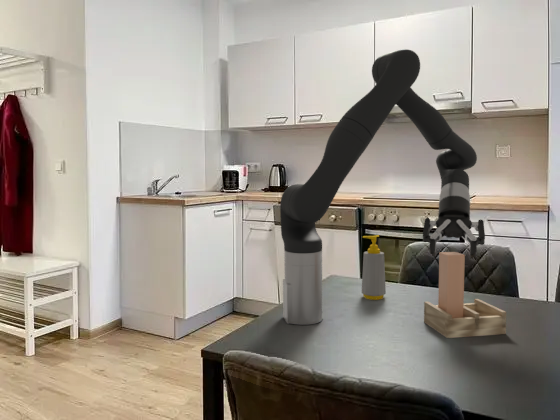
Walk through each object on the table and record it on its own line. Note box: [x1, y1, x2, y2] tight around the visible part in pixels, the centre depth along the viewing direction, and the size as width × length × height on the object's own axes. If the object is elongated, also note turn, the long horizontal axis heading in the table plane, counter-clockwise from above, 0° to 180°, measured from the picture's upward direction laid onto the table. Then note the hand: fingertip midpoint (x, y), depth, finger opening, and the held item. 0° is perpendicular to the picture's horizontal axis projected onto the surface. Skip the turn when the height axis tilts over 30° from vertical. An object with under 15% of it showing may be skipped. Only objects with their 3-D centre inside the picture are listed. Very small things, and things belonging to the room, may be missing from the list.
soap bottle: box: [361, 234, 387, 301], centre depth 136 cm, size 7×7×18 cm
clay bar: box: [437, 251, 466, 318], centre depth 109 cm, size 4×4×16 cm
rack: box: [423, 298, 507, 339], centre depth 110 cm, size 14×11×5 cm
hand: (452, 255), depth 113 cm, fingers open, 8 cm apart
